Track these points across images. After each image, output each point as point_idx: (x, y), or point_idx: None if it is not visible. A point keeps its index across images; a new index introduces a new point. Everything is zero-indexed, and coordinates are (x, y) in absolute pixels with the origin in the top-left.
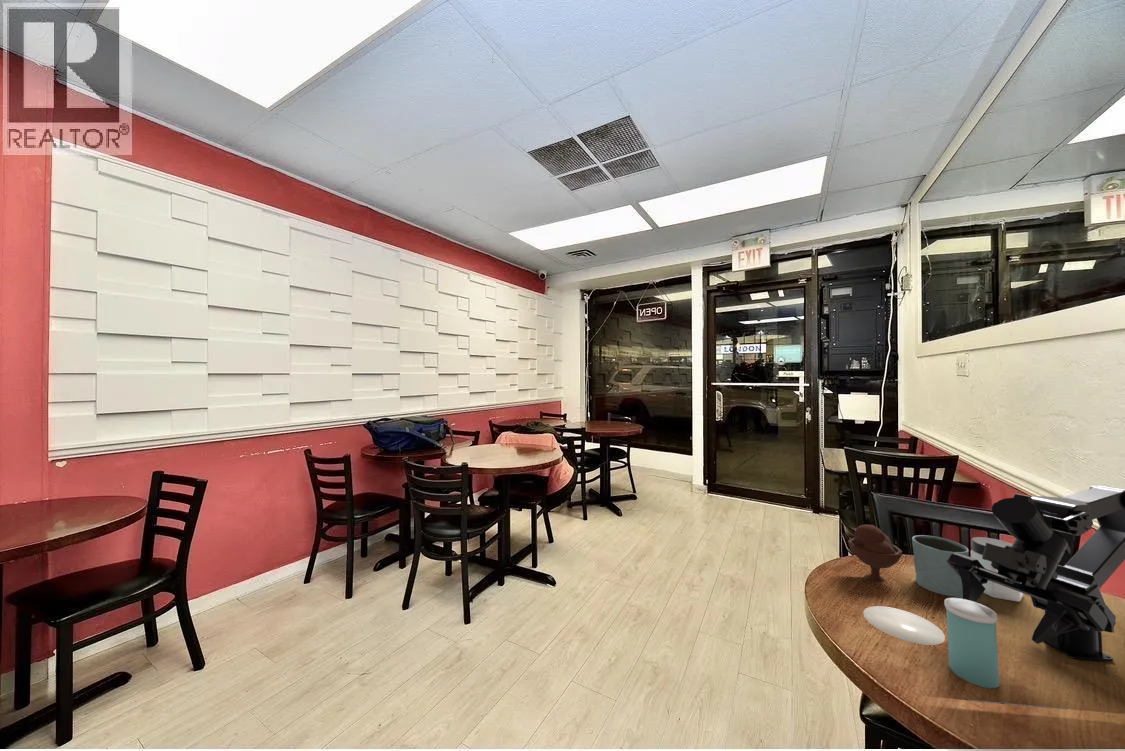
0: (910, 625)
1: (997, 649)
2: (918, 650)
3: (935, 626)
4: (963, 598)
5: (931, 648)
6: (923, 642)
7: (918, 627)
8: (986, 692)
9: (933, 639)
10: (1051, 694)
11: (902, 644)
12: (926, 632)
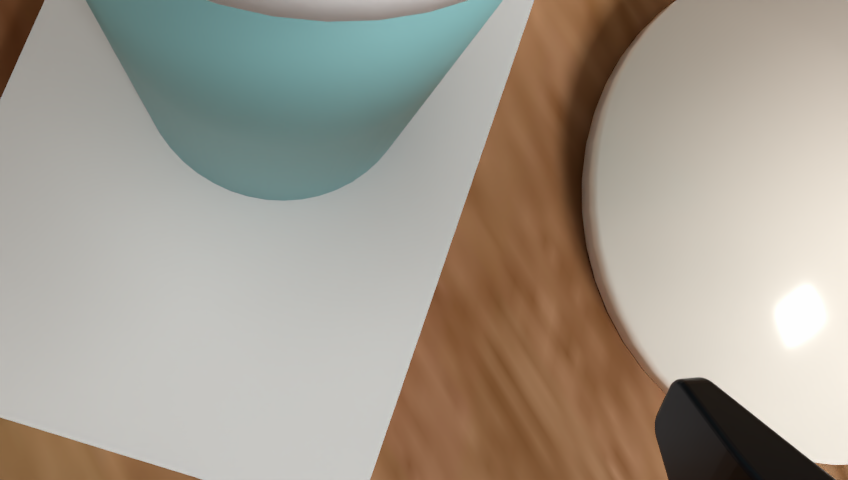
0: (813, 243)
1: (104, 33)
2: (600, 50)
3: None
4: (821, 472)
5: None
6: (634, 109)
7: (782, 279)
8: None
9: (647, 229)
10: (28, 470)
11: None
12: (723, 272)
